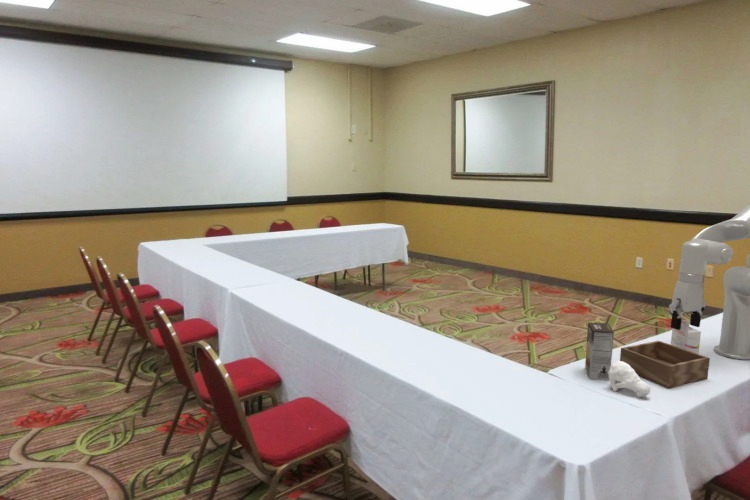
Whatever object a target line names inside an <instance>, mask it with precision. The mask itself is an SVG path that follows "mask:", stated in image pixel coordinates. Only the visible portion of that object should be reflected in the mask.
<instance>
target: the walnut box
mask: <svg viewBox="0 0 750 500" xmlns="http://www.w3.org/2000/svg"><path fill="white" fill-rule="evenodd" d="M710 360H711V358H710V357H708V356H705V355H702V354H700V353H699V354H696V353H693V352H690V351H688V350H685V349H682V348H679V347H676V346H673V345H671V343H670V344H669V343H666V342H663V341H661V340H655V341H651V342H645V343H639V344H633V345H630V346H624V347H623V346H622V347H620V355H619V361H623V362H625V363H627V364H629V365H630V366H631V368H633V369H634V370H635V372H636V374H637V375H638V376H639V378H642V379H644V380H646V381H649V382H651V383H654V384H656V385H659V386H661V387H663V388H666V389H668V390H670V389H672V388H678V387H682V386H685V385H686V386H687V385H689V384H694V383H697V382H702V381H706V380H708V379H709V378H708V377H709V371H710V370H709V369H710V368H709V367H710Z"/></svg>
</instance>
